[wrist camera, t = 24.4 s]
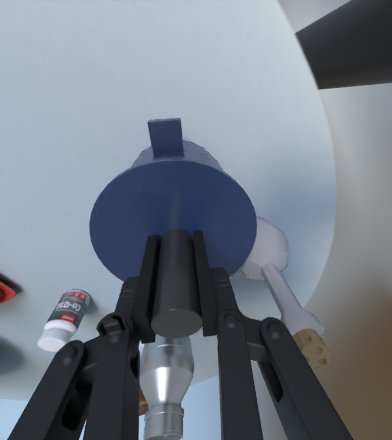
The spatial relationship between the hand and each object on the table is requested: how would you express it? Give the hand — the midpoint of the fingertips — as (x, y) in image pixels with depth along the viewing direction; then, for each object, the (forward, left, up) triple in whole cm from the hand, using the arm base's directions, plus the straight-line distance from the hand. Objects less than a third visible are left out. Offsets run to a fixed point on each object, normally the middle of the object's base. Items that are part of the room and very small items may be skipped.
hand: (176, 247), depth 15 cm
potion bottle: (-11, +9, -12) cm, 19 cm away
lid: (0, 0, -1) cm, 1 cm away
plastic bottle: (+3, +16, -12) cm, 20 cm away
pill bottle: (+21, +20, -12) cm, 32 cm away
